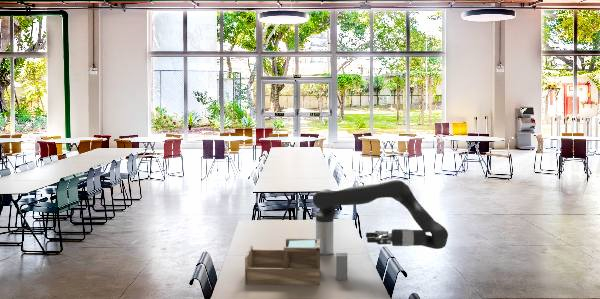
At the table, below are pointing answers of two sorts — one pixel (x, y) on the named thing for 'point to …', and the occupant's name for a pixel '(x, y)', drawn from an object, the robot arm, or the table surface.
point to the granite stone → (341, 266)
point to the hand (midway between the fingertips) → (366, 237)
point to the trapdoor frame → (283, 265)
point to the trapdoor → (302, 243)
